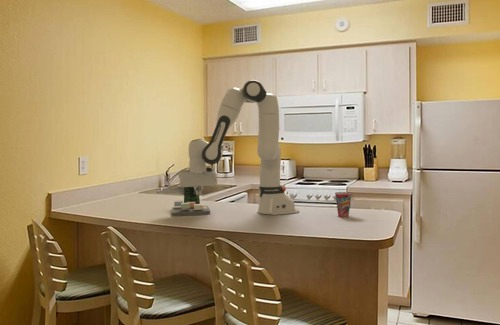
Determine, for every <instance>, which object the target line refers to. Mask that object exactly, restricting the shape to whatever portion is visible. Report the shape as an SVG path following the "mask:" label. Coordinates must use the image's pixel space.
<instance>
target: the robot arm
mask: <svg viewBox="0 0 500 325" xmlns="http://www.w3.org/2000/svg"><path fill="white" fill-rule="evenodd" d="M220 102H221V103H220V105H219V109H218V112H217V118H216V124H215V128H214V131H213V134H212V136H211V137H210V138H211V139H210V140H209V141H206V140H205V139H203V138H196V139H193V140H191V141H190V142H189V144H188V158H189V162H188V163H189V166H188V167H189V169H181V170H179V171H178V173H177V174H178V175H177V176H178V178H179V187H180V188H184V187H194V189H195V191H196V195H199V196H200V195H203V193H202V192H203V190H204V187H207V186H208V187H209V186H210V187H211V186H217V184H218V179H217V178H218V177H217V175H216V173H215V168H214V167H212V166H209V165H216V164H217V163H218V162H219V161H220V160H221V158H222V157H223V149H222V145H223V143H224V141H225V138H226V135H227V132H228V130H229V129H230V128H231V127H232V125H234V124H235V122H236V121H237V119H238V117H239V115H240V112H241V111H242V107H243V105H244V104H245V103H249V104H250V103H251V104H253V103H256V105H257V108H258V133H257V134H258V136H257V152H256V153H257V156H258V157H259V158H260V164H259V165H260V168H259V188H258V196H259V200H258V201H259V202H258V207H257V213H258V214H262V215H264V214H265V215H271V216H272V215H273V216H276V215H287V214H298V213H300V210H299V209H298V208H297V207H296V206H295V201H294V200H293V199H292V198H291V197H290V196H289V195H287V193H285V192H286V191H287V188H286V186H285V187H284V186H282V185H281V159H282V156H281V155H282V147H281V145H280V144H279V139H280V138H279V137H280V136H279V135H280V110H279V101H278V98H277V96H276V95H275V94H273V93H269V92H268V93H267V91H266V89H265V87H264V85H263V84H262V82H260V81H259V80H258V79H257V80H256V79H250V80H247V81H246V82H245V83H244V85H243V87H242V88H238V87H230V88H229V89H227V91H226V93H225V94H224V96H223V98H222V100H221V101H220ZM197 186H199V187H200V188H201V189H199V191H197V190H196V188H197Z"/></svg>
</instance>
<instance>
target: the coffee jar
mask: <svg viewBox="0 0 500 325" xmlns="http://www.w3.org/2000/svg"><path fill="white" fill-rule="evenodd" d="M183 189H184V190H183V193H184V194H183V203H187V202H195V204H201V201H200V195H196V191H195V189H194V187H183ZM196 190H197V191H200V186H197V188H196Z"/></svg>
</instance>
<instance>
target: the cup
mask: <svg viewBox="0 0 500 325" xmlns="http://www.w3.org/2000/svg"><path fill="white" fill-rule="evenodd" d="M334 194H335V201H336V208H337V217H338V218H345V219H346V218H349V216H350V208H351V200H352V195H355V192H350V191H349V192H347V191H339V192H337V191H336V192H334Z"/></svg>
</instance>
